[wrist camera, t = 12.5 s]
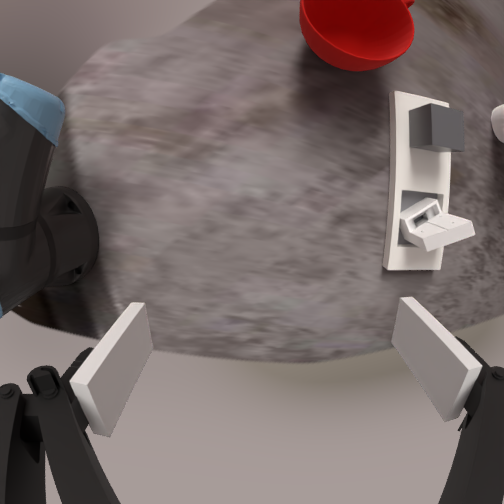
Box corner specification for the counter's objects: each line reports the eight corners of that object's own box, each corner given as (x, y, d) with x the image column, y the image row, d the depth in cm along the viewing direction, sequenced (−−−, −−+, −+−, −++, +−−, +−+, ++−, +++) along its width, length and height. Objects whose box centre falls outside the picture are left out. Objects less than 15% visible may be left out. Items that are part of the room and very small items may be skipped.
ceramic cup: (418, 54, 31) (452, 31, 22) (332, 101, 34) (354, 80, 25) (364, -11, 29) (384, -45, 19) (273, 29, 32) (275, -9, 22)
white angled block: (464, 208, 34) (475, 234, 28) (404, 230, 41) (402, 259, 34) (456, 185, 34) (467, 206, 27) (395, 208, 40) (392, 234, 33)
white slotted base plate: (382, 265, 40) (405, 286, 32) (388, 93, 34) (414, 79, 26) (433, 265, 39) (462, 284, 32) (441, 105, 33) (472, 96, 26)
